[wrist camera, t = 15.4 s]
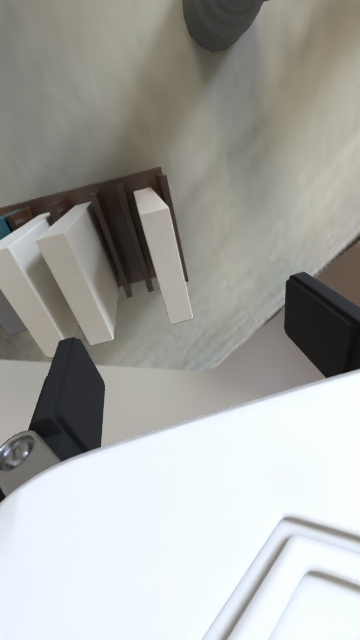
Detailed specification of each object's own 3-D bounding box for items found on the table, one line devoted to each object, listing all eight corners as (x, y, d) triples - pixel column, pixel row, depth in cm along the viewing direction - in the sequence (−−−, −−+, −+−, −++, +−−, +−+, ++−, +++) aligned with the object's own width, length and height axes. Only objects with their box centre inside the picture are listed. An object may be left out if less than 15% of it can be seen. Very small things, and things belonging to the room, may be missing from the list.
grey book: (31, 299, 33) (7, 335, 26) (-13, 228, 28) (-56, 250, 21) (48, 294, 33) (29, 329, 26) (8, 222, 28) (-30, 243, 21)
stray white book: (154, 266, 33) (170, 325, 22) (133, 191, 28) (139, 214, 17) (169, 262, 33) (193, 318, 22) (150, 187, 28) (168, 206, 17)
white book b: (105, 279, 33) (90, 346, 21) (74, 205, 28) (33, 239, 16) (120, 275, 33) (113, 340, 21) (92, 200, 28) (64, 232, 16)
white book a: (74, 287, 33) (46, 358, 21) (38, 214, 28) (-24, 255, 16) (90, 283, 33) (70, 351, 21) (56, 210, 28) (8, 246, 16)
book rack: (-37, 326, 34) (-83, 374, 26) (-113, 236, 27) (-203, 266, 20) (181, 266, 35) (197, 296, 27) (159, 166, 28) (172, 169, 21)
